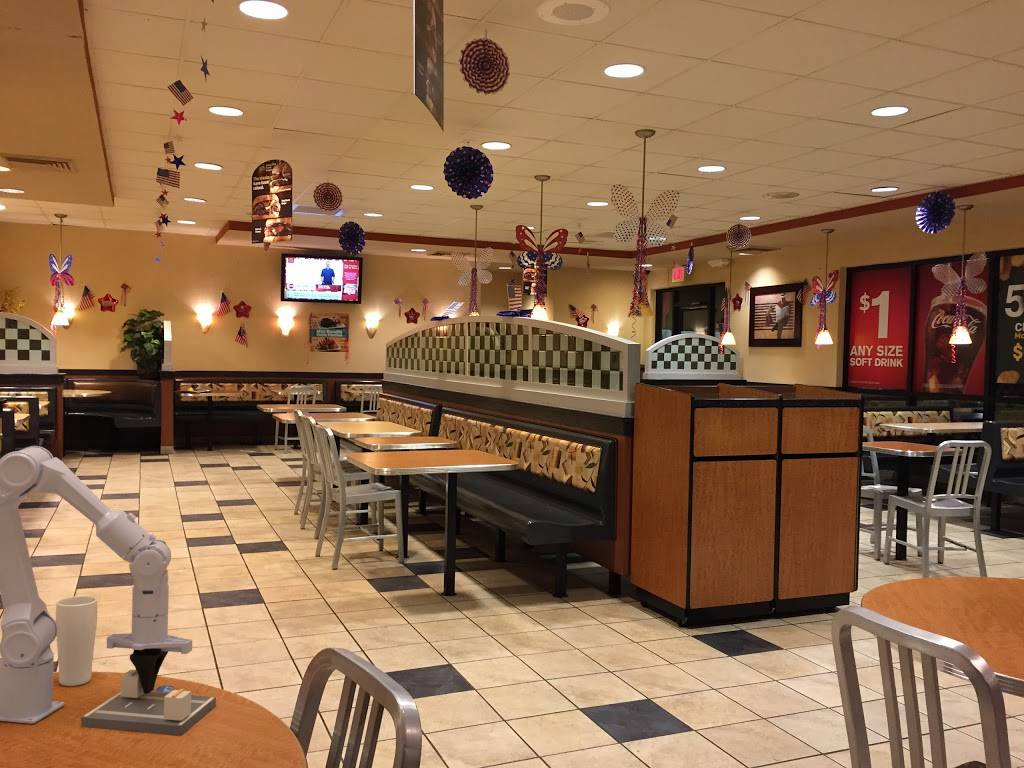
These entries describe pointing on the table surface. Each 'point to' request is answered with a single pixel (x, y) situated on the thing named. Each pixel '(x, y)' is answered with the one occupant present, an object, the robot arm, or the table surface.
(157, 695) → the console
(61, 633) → the drinking glass
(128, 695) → the fader
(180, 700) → the fader
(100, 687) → the table surface
